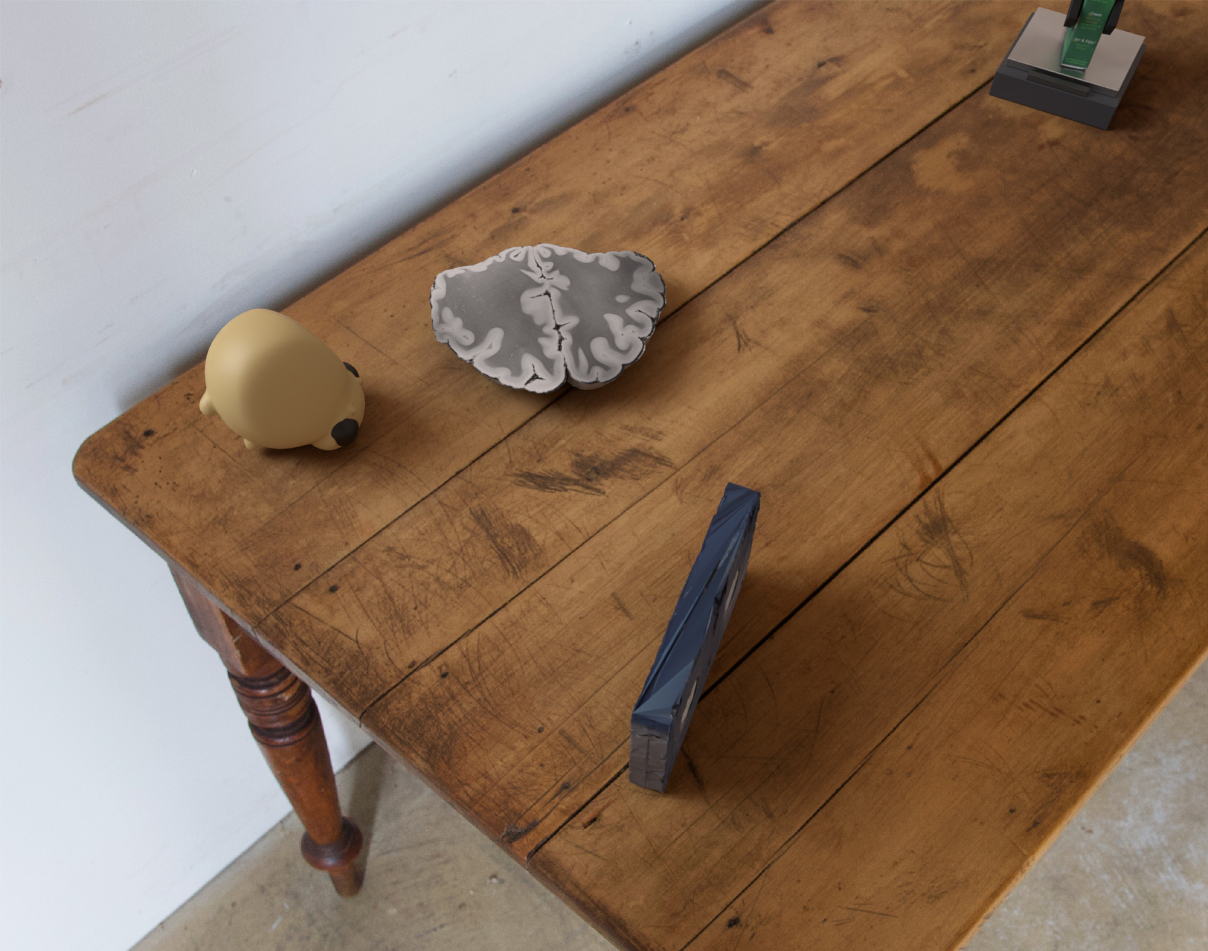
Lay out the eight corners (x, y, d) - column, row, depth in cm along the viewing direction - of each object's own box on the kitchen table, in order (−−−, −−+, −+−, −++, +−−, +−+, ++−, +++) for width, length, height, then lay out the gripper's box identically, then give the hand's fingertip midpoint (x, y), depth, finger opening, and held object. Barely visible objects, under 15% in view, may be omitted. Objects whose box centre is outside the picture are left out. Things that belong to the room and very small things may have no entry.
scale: (1137, 67, 114) (1150, 37, 112) (1106, 130, 109) (1120, 99, 106) (1024, 35, 117) (1034, 4, 115) (988, 94, 112) (998, 63, 109)
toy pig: (304, 500, 88) (390, 442, 82) (165, 430, 80) (249, 361, 74) (316, 404, 93) (398, 343, 87) (186, 329, 85) (267, 257, 79)
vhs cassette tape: (714, 564, 81) (728, 478, 73) (752, 578, 80) (771, 492, 72) (619, 781, 72) (622, 711, 63) (662, 797, 71) (671, 730, 63)
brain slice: (451, 433, 87) (446, 408, 85) (424, 286, 96) (420, 259, 94) (692, 397, 90) (695, 371, 87) (645, 256, 98) (646, 229, 96)
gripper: (1257, -218, 102) (1166, 54, 107) (1078, -245, 104) (999, 22, 110) (1287, -264, 94) (1188, 30, 100) (1095, -291, 97) (1009, -3, 103)
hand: (1089, 25), depth 105 cm, fingers closed on coffee box, 3 cm apart
